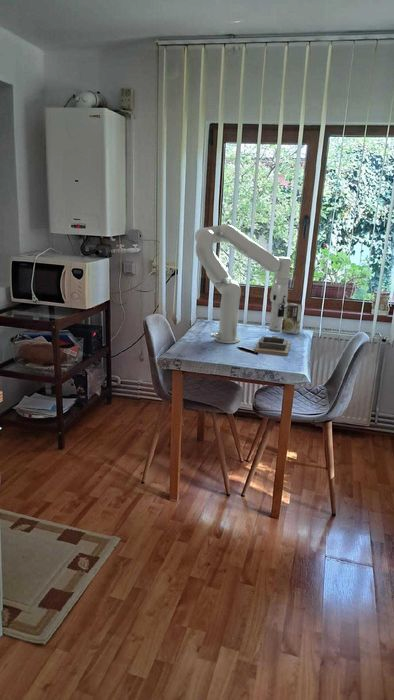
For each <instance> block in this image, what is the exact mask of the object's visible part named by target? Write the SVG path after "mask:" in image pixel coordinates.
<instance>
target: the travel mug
mask: <svg viewBox="0 0 394 700" xmlns="http://www.w3.org/2000/svg"><path fill="white" fill-rule="evenodd" d="M275 301H276V295H273V301H272V309H271V308H270V318H269V326H268V331H269V332H272V333H281V331H282V320H283V317H278V310H279V304H277V303H276V302H275ZM282 303H283V302H282ZM281 306H282V305H281Z"/></svg>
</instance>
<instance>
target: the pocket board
mask: <svg viewBox="0 0 394 700" xmlns="http://www.w3.org/2000/svg"><path fill="white" fill-rule="evenodd" d="M290 347H291V341H289V340H288V338H285V337H284V338H282V337H279V336H275V335H272V336H265V335H264V336H263V335H262V336H261V337H260V338H259V340H258V341H257V343H256V345H255V347H254V349H253V352H254V353H256V352H257V353H258V354H268V355H276V356H277V355H278V356H285V357H287V356H288V355H289V351H290Z"/></svg>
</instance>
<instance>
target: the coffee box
mask: <svg viewBox="0 0 394 700" xmlns="http://www.w3.org/2000/svg"><path fill="white" fill-rule="evenodd" d="M302 311H303V304H301V303H292V302H288V305H287V306H286V308H285V309H284V316H283V318H282V325H281V332H282V333H288V334H294V335H297V334H299V333H300V331H301V321H302ZM281 332H280V333H281Z"/></svg>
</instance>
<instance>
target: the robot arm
mask: <svg viewBox="0 0 394 700" xmlns="http://www.w3.org/2000/svg"><path fill="white" fill-rule="evenodd" d="M194 239H195V241H196V244H195V254H196V258H197V259H198V261H199V263H201V266H202V267H203V268H204V270H205V273H206V276H207V278H208V280H210V282H211V283H212V285H213V286H214V288H216V290H217V291H218V292H219V293H220V294H221V299H220V305H219V324H218V331H216V332H215V333H210V334H209V337H210V338H214V339H215V341H216V342H218V343H222V344H237V343H239V342H240V341H241V340H240V338H239V337H238V326H239V325H238V323H239V309H240V308H239V307H240V300H241V297H242V289H241V286H240V284H239V283H238V282H237V281H236V280H234V279H233V278H232V277H231V276H230V275H229V273H228V270H227V269H228V268H227V267H226V266H225V264H224V263H223V262H222V261H221V259H220V258H219V256H218V255H217V254H216V253H215V251H214V244H217V243H223V242H224V243H225V244H227V245H229V246H230V247H231V248H233V249H234V250H236V251H237V252H238V253H240V255H242V256H244V257H245V258H248V259H250V260H252V261H254V262H255V263H257V264H259V265H260V267H261V268H262V269H263V270H264V271H268V272H270V273H274V277H273V283H272V285H271V290H270V293H269V294H270V295H269V301H270V306H271V308H270V310H271V309H272V301H273V295H276V301H275V302H276V303H277V304H279V310H278V317H283V316H284V309H285V308H286V306H287V305H288V303H289V302H288V297H289V279H290V272H291V265H292V260H291V258H290V257H289V256H275V255H274V254H273V253H271V252H270V251H268V250H267V249H266V248H264V247H263V246H261V245H260V244H258V242H255V241H254V240H253V239H251V238H250V237H249V236H248V235H246V234H245V233H243V232H241V230H239V229H238V228H236V227H235V226H233V225H230V224H220V225H214V226H207V227H201V228H199V229H198V230H197V231H196V232H195V234H194ZM282 302H283V303H282ZM281 305H282V306H281Z"/></svg>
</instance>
